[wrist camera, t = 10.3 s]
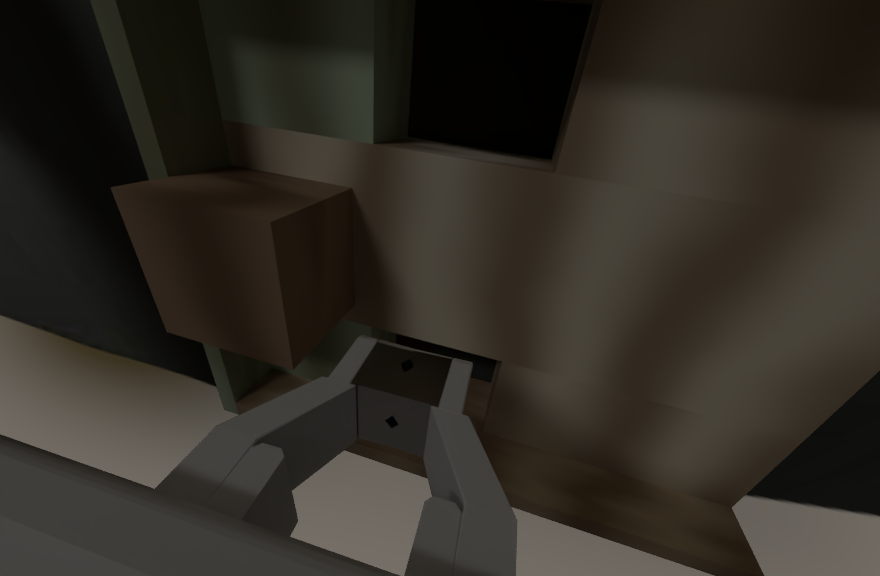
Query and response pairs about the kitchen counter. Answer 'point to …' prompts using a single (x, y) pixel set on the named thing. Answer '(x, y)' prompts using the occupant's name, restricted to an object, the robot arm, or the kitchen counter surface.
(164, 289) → the walnut block
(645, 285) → the tray
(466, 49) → the kitchen counter surface
